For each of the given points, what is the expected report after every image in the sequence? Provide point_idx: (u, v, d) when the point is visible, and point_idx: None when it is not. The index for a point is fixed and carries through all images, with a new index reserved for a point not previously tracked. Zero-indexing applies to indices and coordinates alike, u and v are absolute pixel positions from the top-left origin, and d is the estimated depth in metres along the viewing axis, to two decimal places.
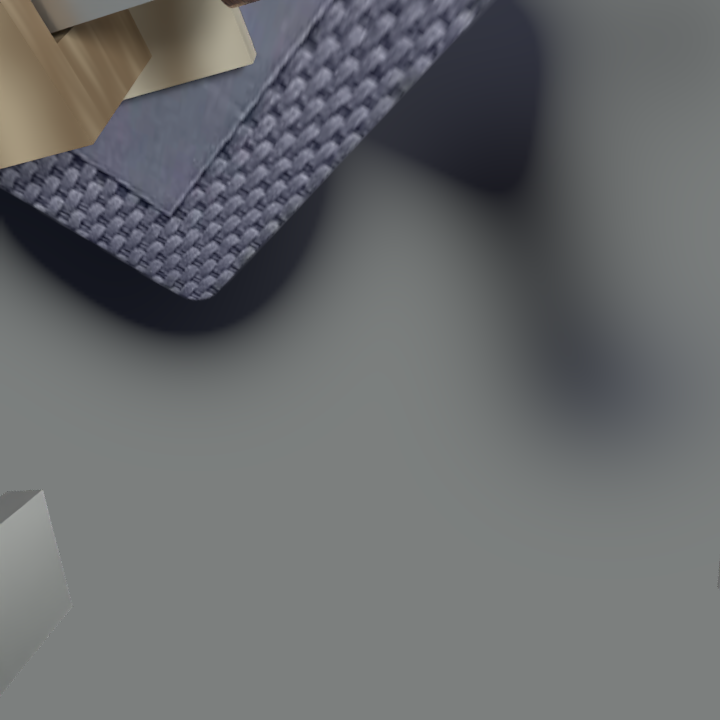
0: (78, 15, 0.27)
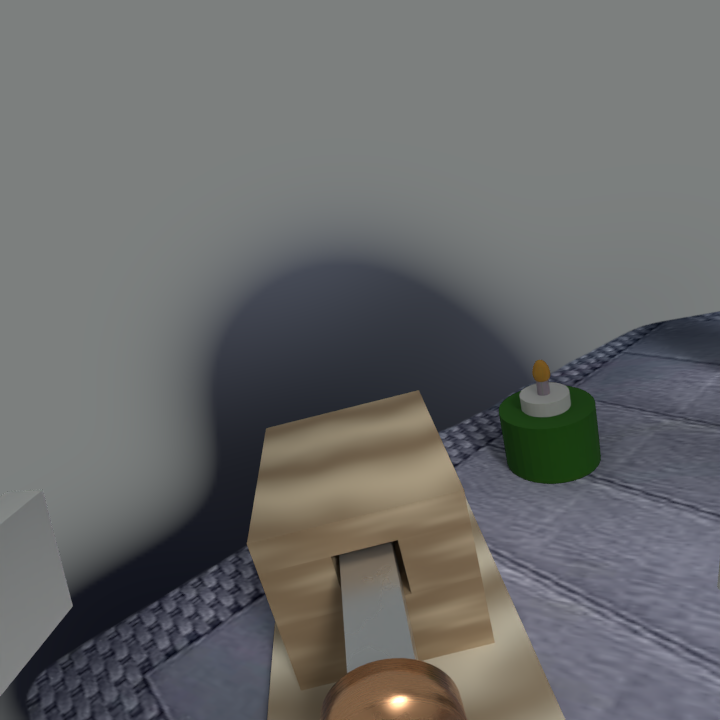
0: (346, 578, 0.30)
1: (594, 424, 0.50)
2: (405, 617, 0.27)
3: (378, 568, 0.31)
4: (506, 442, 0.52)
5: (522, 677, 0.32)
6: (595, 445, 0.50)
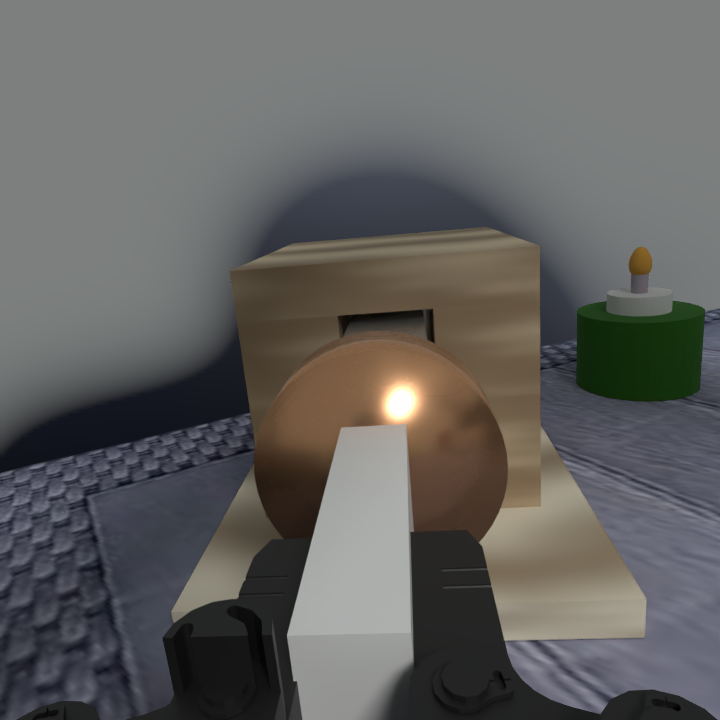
0: (353, 330, 0.22)
1: (700, 334, 0.39)
2: None
3: (400, 326, 0.22)
4: (580, 348, 0.42)
5: (577, 542, 0.22)
6: (697, 362, 0.39)
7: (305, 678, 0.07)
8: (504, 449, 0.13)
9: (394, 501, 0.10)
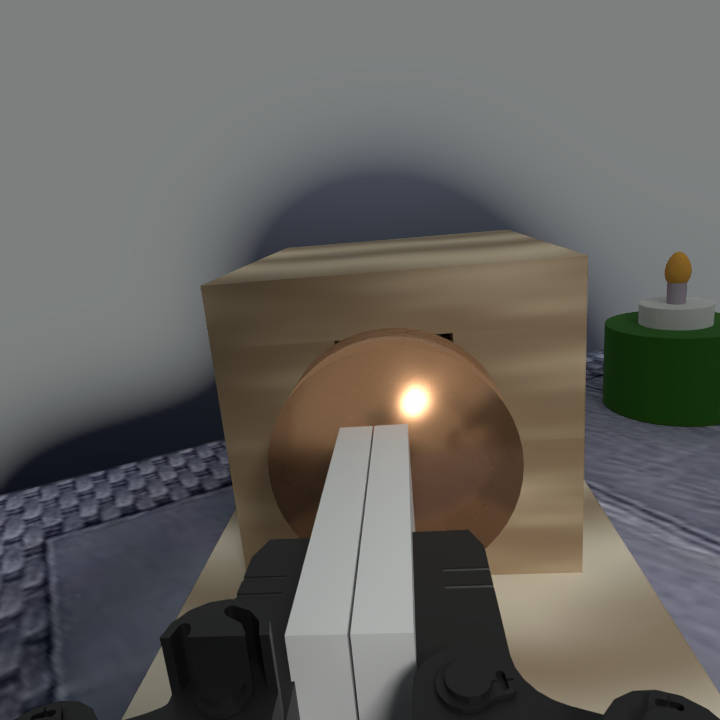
0: None
1: None
2: None
3: None
4: (609, 365, 0.38)
5: (634, 627, 0.18)
6: None
7: (303, 678, 0.07)
8: (520, 446, 0.13)
9: (396, 500, 0.10)
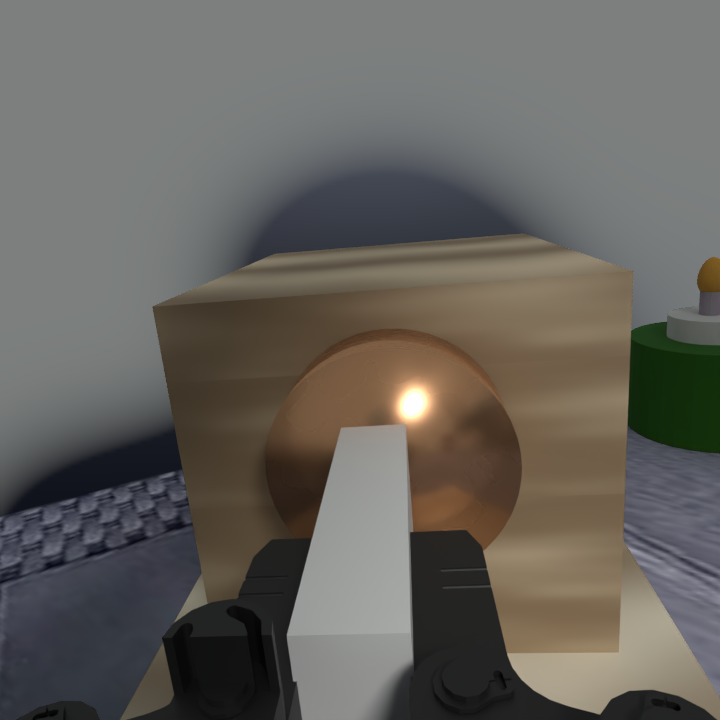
0: None
1: None
2: None
3: None
4: (634, 382, 0.34)
5: None
6: None
7: (305, 678, 0.07)
8: (518, 449, 0.13)
9: (394, 501, 0.10)
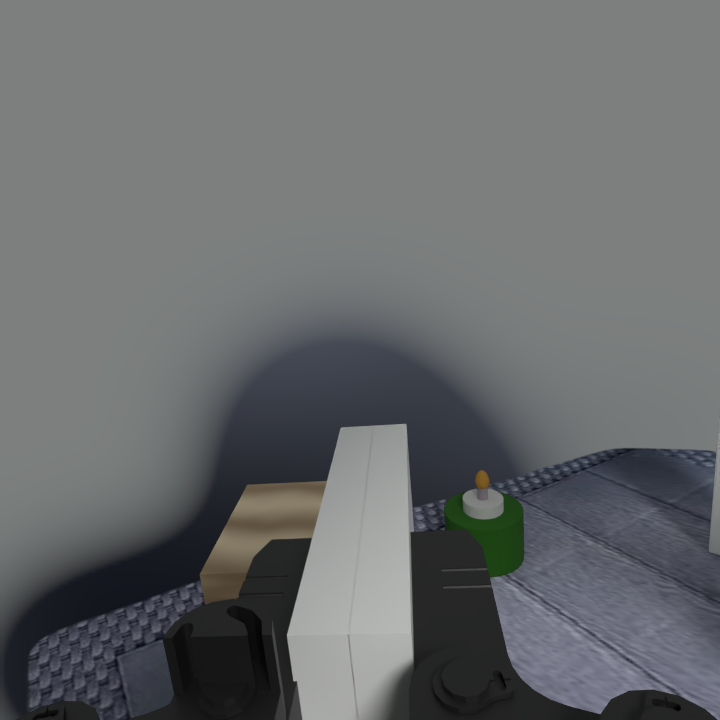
0: None
1: (517, 533, 0.59)
2: None
3: None
4: None
5: None
6: (515, 551, 0.60)
7: (305, 677, 0.07)
8: None
9: (394, 501, 0.10)
